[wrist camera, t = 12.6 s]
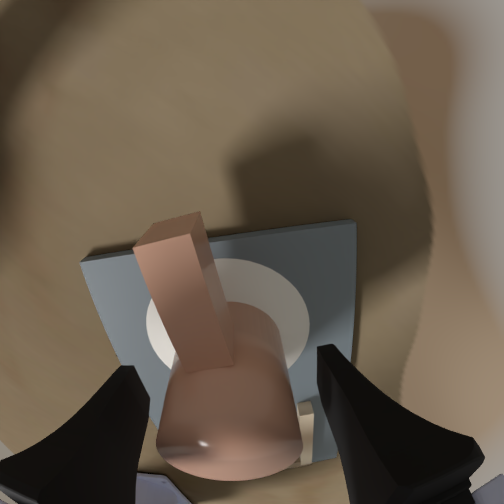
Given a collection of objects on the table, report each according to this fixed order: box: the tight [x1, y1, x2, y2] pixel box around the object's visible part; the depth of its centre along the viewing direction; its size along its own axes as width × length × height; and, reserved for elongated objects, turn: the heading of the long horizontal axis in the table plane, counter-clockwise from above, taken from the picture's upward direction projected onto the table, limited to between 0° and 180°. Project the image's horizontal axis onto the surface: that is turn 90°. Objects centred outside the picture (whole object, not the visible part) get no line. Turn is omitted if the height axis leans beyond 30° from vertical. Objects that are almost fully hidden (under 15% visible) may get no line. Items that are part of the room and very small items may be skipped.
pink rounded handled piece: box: [133, 212, 303, 481], centre depth 10 cm, size 9×5×6 cm, turn 12°
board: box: [80, 219, 357, 462], centre depth 16 cm, size 19×12×1 cm, turn 7°
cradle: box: [285, 401, 314, 469], centre depth 16 cm, size 7×8×1 cm
